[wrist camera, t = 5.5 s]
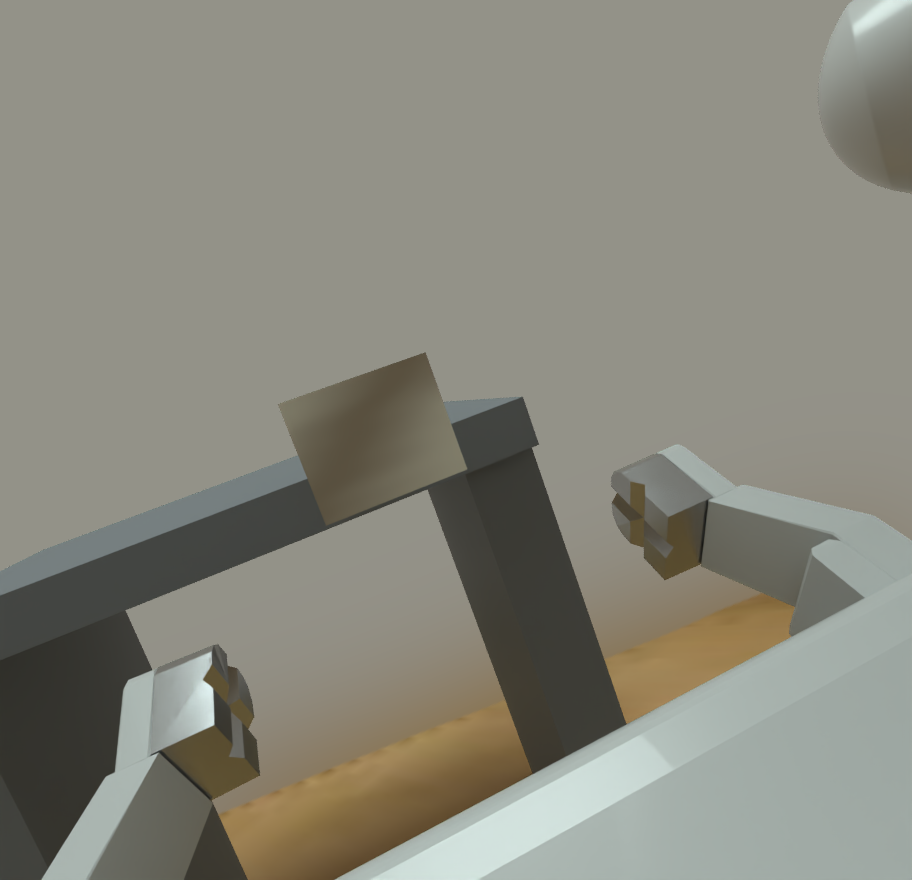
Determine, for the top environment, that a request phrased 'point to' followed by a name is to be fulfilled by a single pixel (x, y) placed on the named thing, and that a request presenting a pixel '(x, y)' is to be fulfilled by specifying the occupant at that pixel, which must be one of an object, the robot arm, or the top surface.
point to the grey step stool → (240, 540)
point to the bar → (373, 437)
